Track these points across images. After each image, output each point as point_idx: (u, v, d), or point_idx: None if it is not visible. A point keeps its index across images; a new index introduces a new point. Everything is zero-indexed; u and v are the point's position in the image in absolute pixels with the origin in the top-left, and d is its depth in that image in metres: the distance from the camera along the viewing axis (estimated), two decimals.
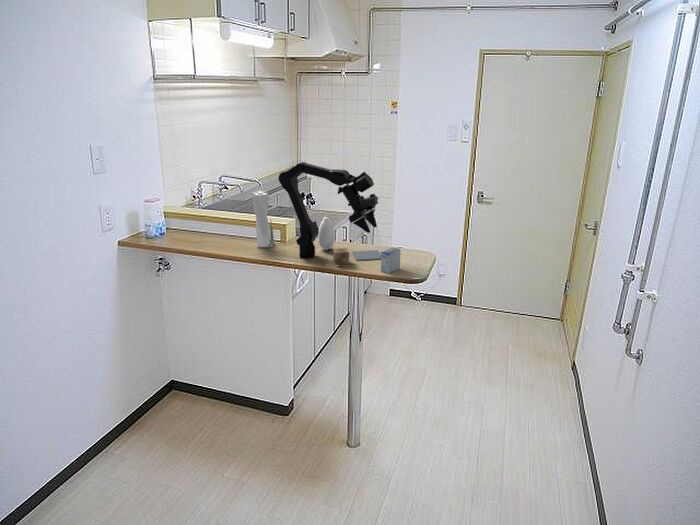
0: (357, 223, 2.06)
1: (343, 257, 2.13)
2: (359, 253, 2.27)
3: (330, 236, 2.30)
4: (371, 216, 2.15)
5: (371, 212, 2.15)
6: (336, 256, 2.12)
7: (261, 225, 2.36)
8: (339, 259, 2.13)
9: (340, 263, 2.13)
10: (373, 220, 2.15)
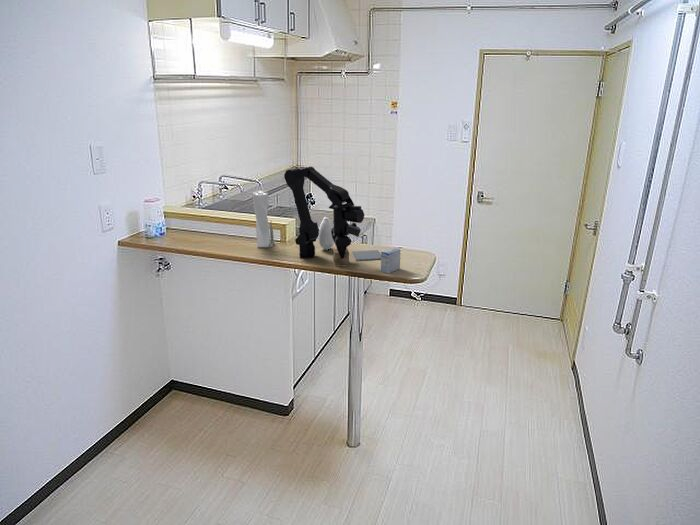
0: (338, 246, 2.07)
1: None
2: (359, 253, 2.27)
3: (330, 236, 2.30)
4: None
5: None
6: (336, 256, 2.12)
7: (261, 225, 2.36)
8: (339, 259, 2.13)
9: (340, 263, 2.13)
10: None
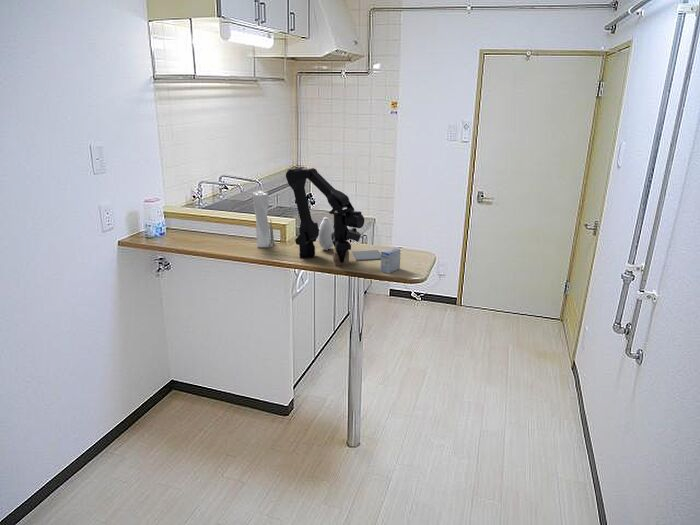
0: (338, 251, 2.09)
1: None
2: (359, 253, 2.27)
3: (330, 236, 2.30)
4: None
5: None
6: (336, 256, 2.12)
7: (261, 225, 2.36)
8: (339, 259, 2.13)
9: (340, 263, 2.13)
10: None
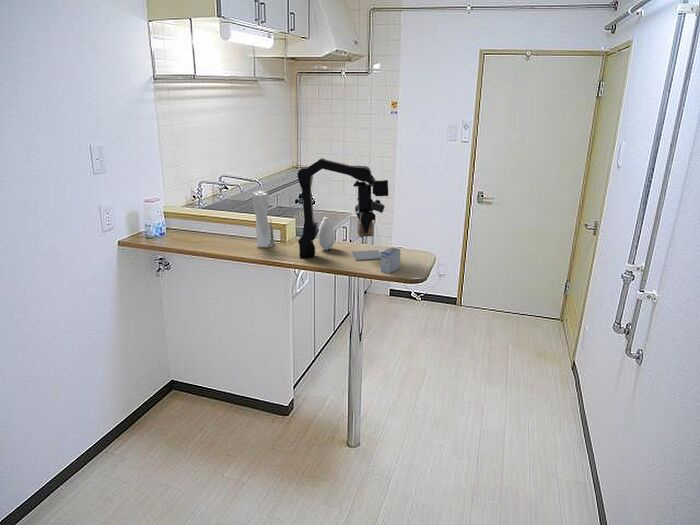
0: (362, 221, 2.14)
1: None
2: (359, 253, 2.27)
3: (330, 236, 2.30)
4: None
5: None
6: (360, 227, 2.17)
7: (261, 225, 2.36)
8: (363, 230, 2.17)
9: (364, 234, 2.18)
10: None
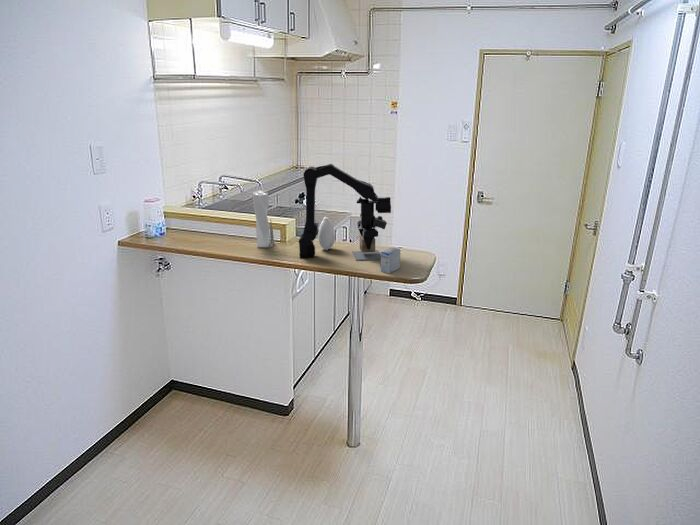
0: (365, 237, 2.18)
1: None
2: (359, 253, 2.27)
3: (330, 236, 2.30)
4: None
5: None
6: (363, 243, 2.20)
7: (261, 225, 2.36)
8: None
9: (367, 249, 2.22)
10: None
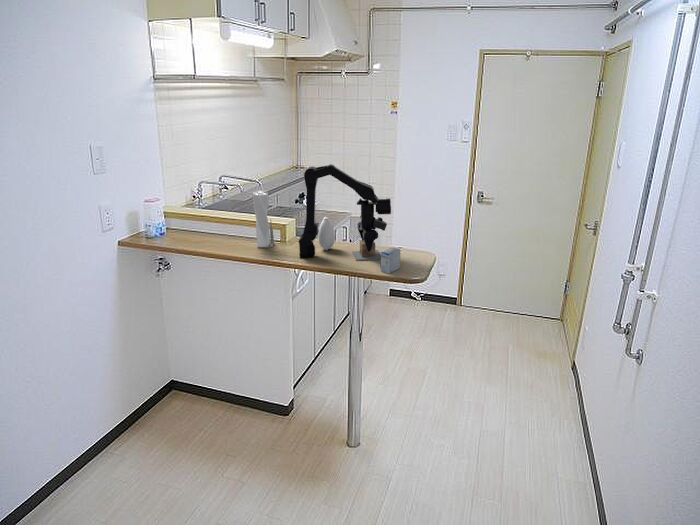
0: (366, 240, 2.16)
1: None
2: (359, 253, 2.27)
3: (330, 236, 2.30)
4: None
5: None
6: (363, 247, 2.21)
7: (261, 225, 2.36)
8: (366, 250, 2.22)
9: (367, 254, 2.22)
10: None
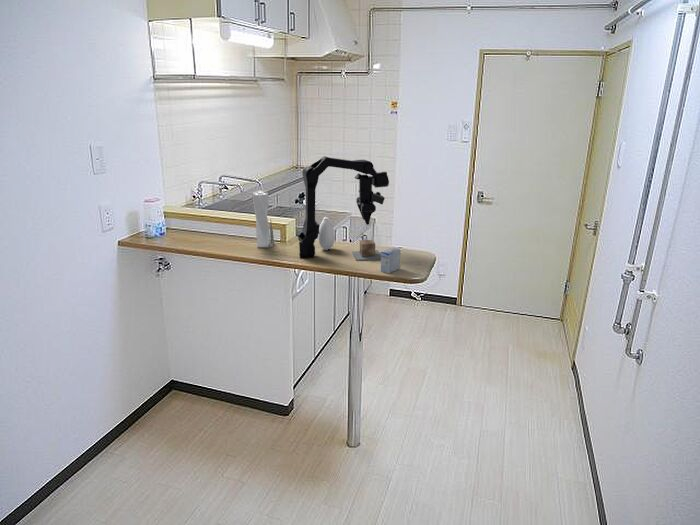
0: (364, 213, 2.23)
1: (370, 248, 2.22)
2: (359, 253, 2.27)
3: (330, 236, 2.30)
4: None
5: None
6: (363, 247, 2.21)
7: (261, 225, 2.36)
8: (366, 250, 2.22)
9: (367, 254, 2.22)
10: None
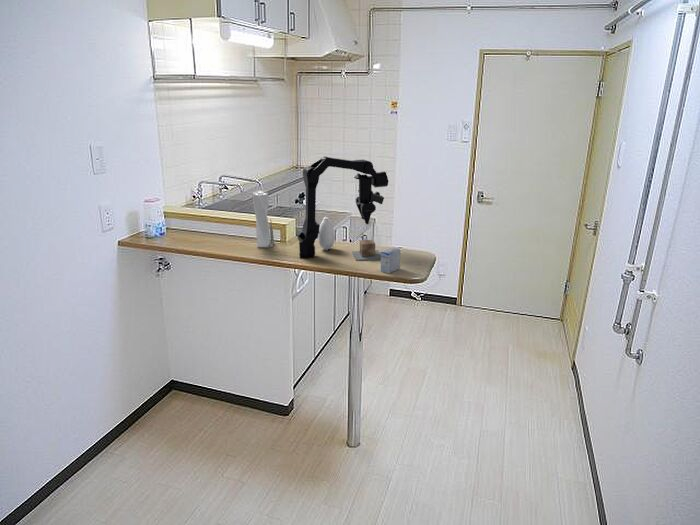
0: (364, 212, 2.24)
1: (370, 248, 2.22)
2: (359, 253, 2.27)
3: (330, 236, 2.30)
4: None
5: None
6: (363, 247, 2.21)
7: (261, 225, 2.36)
8: (366, 250, 2.22)
9: (367, 254, 2.22)
10: None
